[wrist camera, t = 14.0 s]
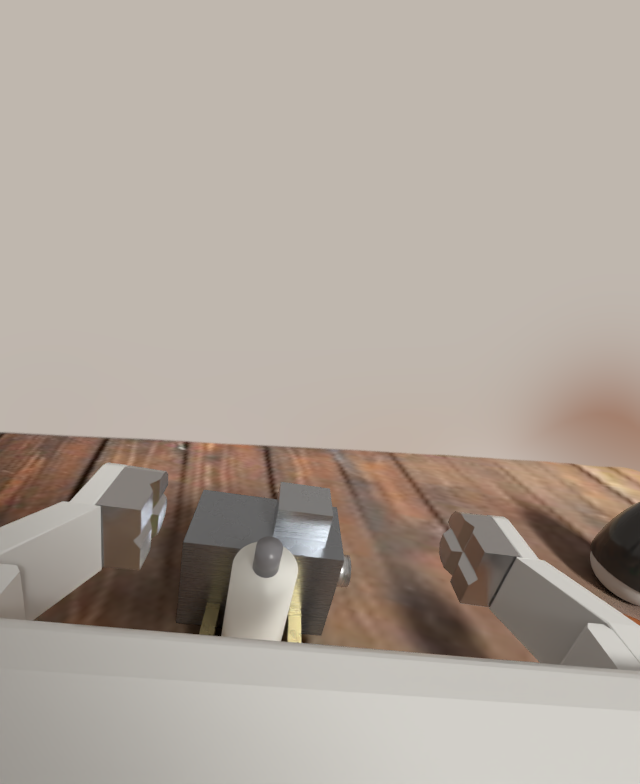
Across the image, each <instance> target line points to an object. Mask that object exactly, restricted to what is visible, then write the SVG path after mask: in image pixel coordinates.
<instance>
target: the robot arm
mask: <svg viewBox="0 0 640 784" xmlns="http://www.w3.org/2000/svg"><path fill="white" fill-rule="evenodd" d="M167 485H168V473H167V471H160V470H154V469H148V468H142V467H135V466H127V465H122V464H115V463H106V464H104V465H103V466H102V467H101V468H100V469H99V470H98V471H97V472H96V473H95V474H94V475H93V477H92V478H91V479H90V480H89V481H88V482H87V483H86V484H85V485H84V486H83V488H82V489H81V490H80V491H79V492H78V493H77V494H76V495H75V496H74V497H73V499H72V500H71V501H70V502H64V501H62V502H60V503H58V504H55V505H53V506H50V507H48V508H46V509H43V510H41V511H38V512H36V513H33V514H31V515H29V516H26V517H24V518H21V519H19V520H17V521H14V522H12V523H9V524H7V525H4V526H2V527H0V784H640V626H639V625H638V624H636V623H635V622H633V621H632V620H631V619H629V618H628V617H626V616H625V615H623V614H622V613H620V612H619V611H617V610H616V609H614V608H613V607H612V606H610V605H609V604H607V603H606V602H604V601H603V600H601V599H600V598H598V597H597V596H595V595H594V594H592V593H591V592H590V591H588V590H587V589H585V588H584V587H582V586H581V585H579V584H578V583H576V582H575V581H573V580H572V579H571V578H569V577H568V576H566V575H565V574H563V573H562V572H560V571H559V570H557V569H556V568H554V567H553V566H551V565H550V564H549V563H547V562H546V561H544V560H539V559H538V558H537V556H536V555H535V554H534V552H533V551H532V550H531V549H530V547H529V546H528V545H527V543H526V542H525V541H524V539H523V538H522V537H521V536H520V534H519V533H518V532H517V530H516V529H515V528H514V527H513V525H512V524H511V523H510V521H509V520H508V519H506V518H504V517H500V516H491V515H487V516H486V515H478V514H471V513H463V512H456V511H455V512H454V513H453V514H452V515H451V517H450V519H449V521H448V523H449V526H450V528H451V529H449V530H448V531H447V532H445V533H444V534H443V536H442V538H441V541H440V548H439V554H440V559H441V562H442V564H443V567H444V568H445V569H446V570H447V571H448V572H449V573H450V574H451V575H452V578H451V581H450V582H451V584H452V587H453V589H454V591H455V593H456V595H457V598H458V600H459V602H460V603H462V604H469V605H477V606H484V607H490V608H489V609H490V610H491V611H492V612H493V613H494V614H495V615H496V616H497V618H498V619H499V620H500V621H501V622H502V623H503V624H504V625H505V626H506V627H507V628H508V629H509V630H510V631H511V632H512V633H513V634H514V636H515V637H516V638H517V639H518V640H519V641H520V642H521V643H522V644H523V645H524V646H525V647H526V648H527V649H528V650H529V651H530V652H531V653H532V655H533V656H534V657H535V658H536V659H537V660H538V661H539V662H540V663H535V662H523V661H511V660H498V659H487V658H475V657H463V656H451V655H439V654H428V653H416V652H404V651H392V650H380V649H368V648H356V647H344V646H332V645H320V644H308V643H296V642H284V641H272V640H259V639H247V638H235V637H223V636H211V635H199V634H187V633H175V632H163V631H151V630H139V629H127V628H115V627H103V626H91V625H79V624H67V623H55V622H43V621H33V620H34V619H36V618H37V617H38V616H40V615H41V614H42V613H44V612H45V611H46V610H48V609H49V608H50V607H52V606H53V605H54V604H56V603H57V602H59V601H60V600H61V599H63V598H64V597H65V596H67V595H68V594H69V593H71V592H72V591H73V590H75V589H76V588H77V587H79V586H80V585H81V584H83V583H84V582H85V581H87V580H88V579H90V578H91V577H92V576H94V575H95V574H96V573H98V572H99V571H100V570H102V567H104V568H118V569H131V570H140V568H141V566H142V564H143V562H144V560H145V558H146V556H147V554H148V552H149V550H150V548H151V538H153V537H154V536H156V535H157V534H158V532H159V530H160V528H161V525H162V522H163V519H164V516H165V511H166V505H167V498H166V496H165V495H164V494H163V493H164V491H165V489H166V487H167Z"/></svg>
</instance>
